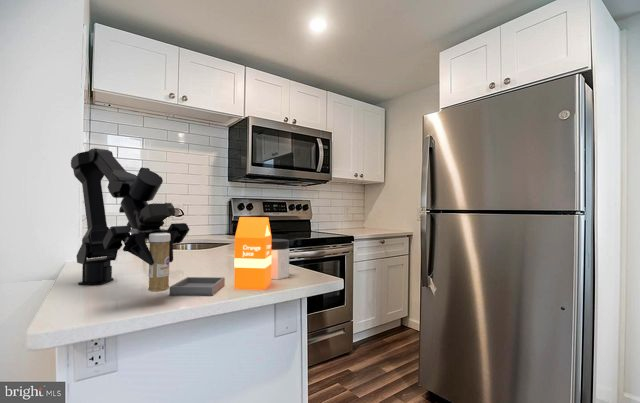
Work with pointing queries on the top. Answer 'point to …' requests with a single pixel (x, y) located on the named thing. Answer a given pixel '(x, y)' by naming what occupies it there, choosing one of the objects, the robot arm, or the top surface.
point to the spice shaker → (159, 262)
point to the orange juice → (252, 253)
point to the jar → (279, 258)
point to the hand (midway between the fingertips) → (162, 262)
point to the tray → (197, 286)
